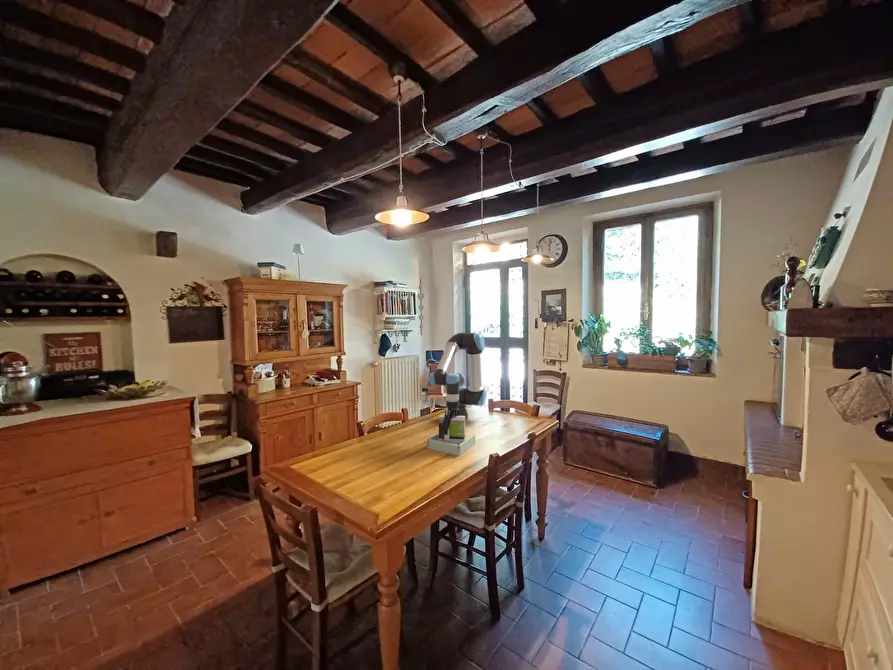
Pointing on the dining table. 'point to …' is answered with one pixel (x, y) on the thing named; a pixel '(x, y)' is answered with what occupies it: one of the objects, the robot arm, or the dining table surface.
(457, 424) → the tea box
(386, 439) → the dining table surface
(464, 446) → the grey tray
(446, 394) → the robot arm
